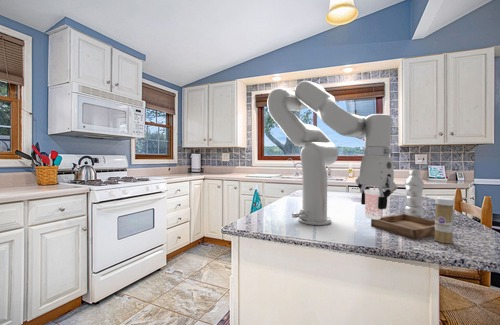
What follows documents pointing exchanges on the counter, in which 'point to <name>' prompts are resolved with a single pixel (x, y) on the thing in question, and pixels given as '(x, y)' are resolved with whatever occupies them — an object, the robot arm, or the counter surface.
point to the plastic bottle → (414, 194)
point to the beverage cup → (372, 204)
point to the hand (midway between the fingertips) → (373, 205)
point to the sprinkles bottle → (444, 219)
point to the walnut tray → (406, 225)
